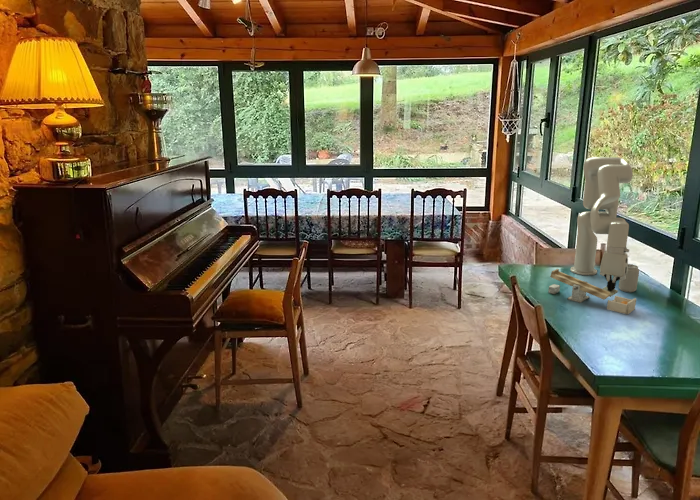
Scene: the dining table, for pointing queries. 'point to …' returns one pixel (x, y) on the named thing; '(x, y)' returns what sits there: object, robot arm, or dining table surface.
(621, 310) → the dish
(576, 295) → the fulcrum
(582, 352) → the dining table surface
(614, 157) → the robot arm
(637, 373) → the dining table surface
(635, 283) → the can
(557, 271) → the lever
